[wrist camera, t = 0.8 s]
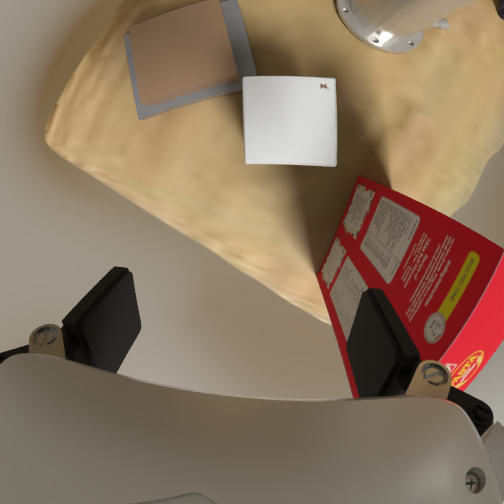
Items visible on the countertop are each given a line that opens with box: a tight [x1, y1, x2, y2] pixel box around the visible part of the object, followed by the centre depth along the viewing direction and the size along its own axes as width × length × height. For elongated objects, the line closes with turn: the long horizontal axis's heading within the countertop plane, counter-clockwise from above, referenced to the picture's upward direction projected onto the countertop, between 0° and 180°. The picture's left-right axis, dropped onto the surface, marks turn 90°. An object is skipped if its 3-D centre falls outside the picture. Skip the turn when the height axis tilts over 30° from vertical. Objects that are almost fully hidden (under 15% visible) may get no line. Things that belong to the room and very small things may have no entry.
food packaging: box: [317, 176, 504, 398], centre depth 23 cm, size 15×5×25 cm, turn 162°
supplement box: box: [242, 76, 337, 167], centre depth 25 cm, size 7×7×13 cm
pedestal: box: [124, 0, 257, 120], centre depth 25 cm, size 15×13×4 cm
